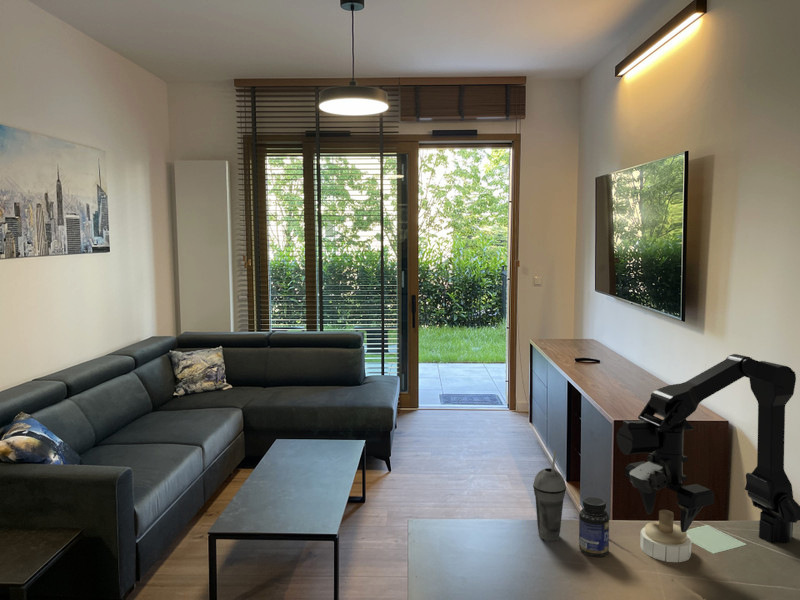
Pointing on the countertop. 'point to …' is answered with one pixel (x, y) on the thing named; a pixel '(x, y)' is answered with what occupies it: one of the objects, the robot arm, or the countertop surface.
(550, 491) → the beverage cup
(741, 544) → the mat
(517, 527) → the countertop surface
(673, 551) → the white faceted ring
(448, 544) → the countertop surface
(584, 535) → the pill bottle
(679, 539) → the lid
